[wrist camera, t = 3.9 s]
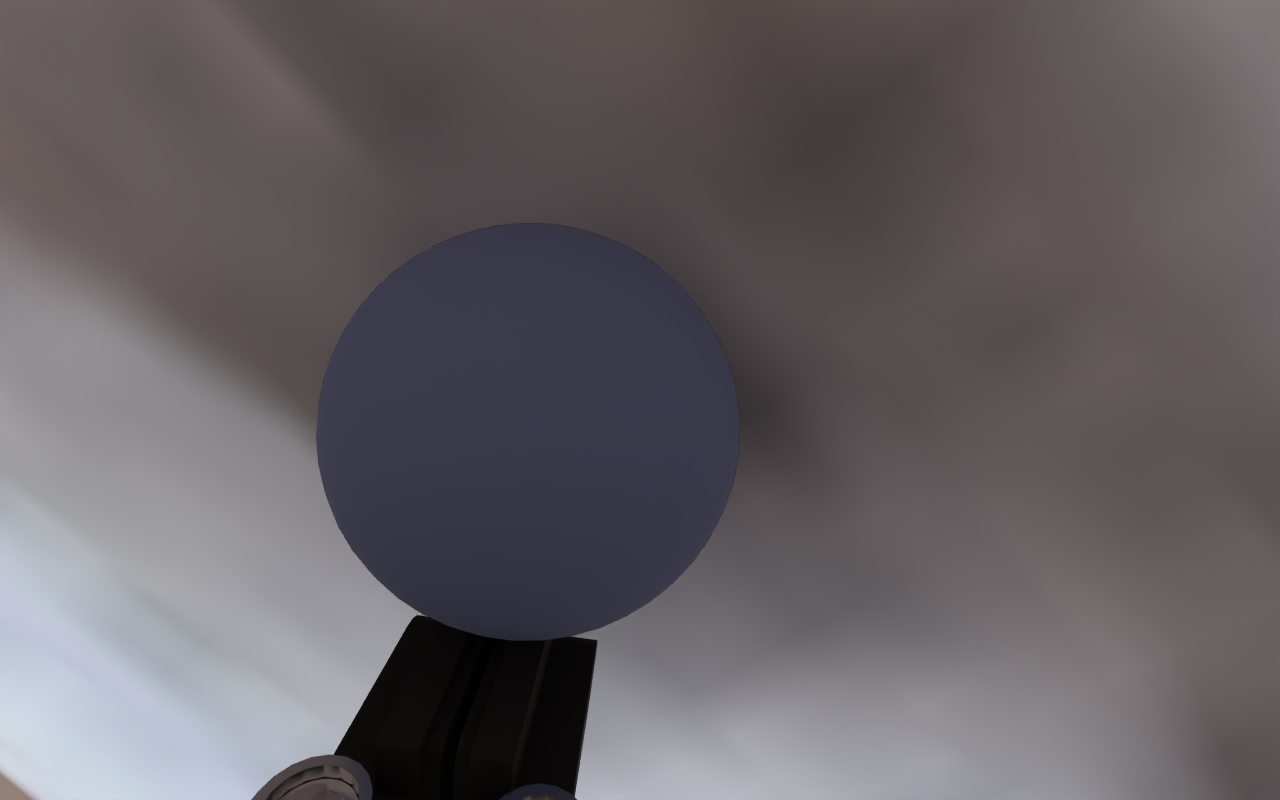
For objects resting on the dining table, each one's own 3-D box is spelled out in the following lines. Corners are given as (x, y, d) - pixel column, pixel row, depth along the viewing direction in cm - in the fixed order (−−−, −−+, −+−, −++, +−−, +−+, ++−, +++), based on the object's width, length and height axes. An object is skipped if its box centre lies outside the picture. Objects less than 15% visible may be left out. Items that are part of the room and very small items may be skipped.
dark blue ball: (729, 371, 12) (811, 166, 7) (682, 670, 10) (750, 710, 5) (459, 320, 12) (338, 85, 7) (360, 602, 10) (85, 567, 5)
